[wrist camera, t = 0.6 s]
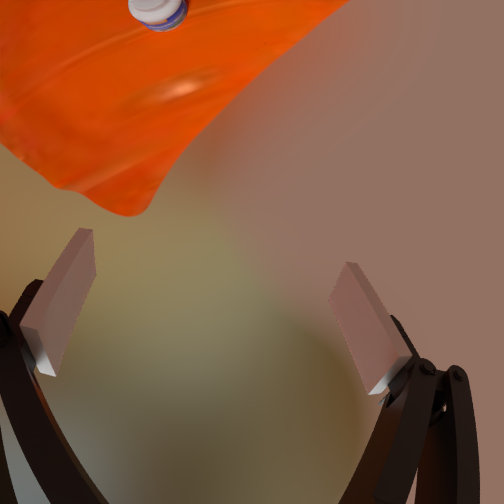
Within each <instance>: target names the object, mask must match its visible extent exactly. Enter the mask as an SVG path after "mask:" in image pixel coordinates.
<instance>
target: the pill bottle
mask: <svg viewBox="0 0 504 504" xmlns="http://www.w3.org/2000/svg"><path fill="white" fill-rule="evenodd" d="M128 6H129V10H130V12H131V14H132V15H133V16H134V17H135V18H136V19H137V20H139V21H140V22H141V23H142V24H144V25H145V26H146V27H147V28H149V29H151V30H153V31H156V32H166V31H170V30H173V29H175V28H176V27H178V26H179V25H180V24H181V23H182V22H183V21H184V19H185V17H186V14H187V5H186V2H185V0H129V1H128Z"/></svg>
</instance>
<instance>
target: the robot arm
mask: <svg viewBox="0 0 504 504" xmlns="http://www.w3.org/2000/svg"><path fill="white" fill-rule="evenodd" d="M95 276H96V267H95V257H94V242H93V230H91V229H84V228H79V229H78V230H77V232H76V233H75V235H74V236H73V237H72V239H71V240H70V242H69V243H68V245H67V246H66V248H65V249H64V250H63V252H62V253H61V255H60V257H59V258H58V260H57V261H56V263H55V264H54V266H53V267H52V269H51V271H50V272H49V274H48V275H47V277H46V279H45V280H44V281H43V280H37V279H35V280H34V281H32V282H31V283H30V284H29V285H28V286H27V287H26V288H25V290H24V291H23V293H22V296H20V298H19V300H18V303H16V305H15V306H14V308H13V310H12V312H11V313H10V315H9V317H8V316H7V314H6V313H5V312H3V311H1V310H0V395H1V398H2V401H3V404H4V407H5V410H6V412H7V415H8V418H9V420H10V423H11V426H12V428H13V431H14V433H15V435H16V438H17V440H18V442H19V444H20V446H21V449H22V451H23V453H24V455H25V458H26V460H27V462H28V463H29V466H30V467H31V469H32V471H33V473H34V475H35V477H36V479H37V481H38V483H39V484H40V486H41V488H42V490H43V491H44V493H45V495H46V497H47V498H48V500H49V502H50V503H51V504H109V503H108V502H107V500H106V499H105V498H104V496H103V495H102V494H101V492H100V491H99V490H98V488H97V487H96V485H95V484H94V483H93V481H92V480H91V478H90V477H89V475H88V474H87V473H86V471H85V469H84V468H83V466H82V465H81V463H80V462H79V460H78V458H77V457H76V455H75V453H74V452H73V450H72V448H71V447H70V445H69V443H68V442H67V440H66V438H65V436H64V435H63V433H62V431H61V429H60V427H59V425H58V424H57V422H56V420H55V418H54V416H53V414H52V412H51V410H50V408H49V406H48V403H47V401H46V399H45V397H44V395H43V393H42V391H41V388H40V386H39V384H38V381H37V379H36V377H35V374H34V372H33V371H34V368H35V366H36V365H37V367H38V369H39V371H40V372H41V373H44V374H48V375H52V376H57V373H58V370H59V367H60V364H61V361H62V358H63V355H64V353H65V350H66V347H67V344H68V342H69V339H70V336H71V334H72V331H73V328H74V326H75V323H76V321H77V318H78V315H79V313H80V311H81V308H82V306H83V304H84V301H85V299H86V297H87V294H88V292H89V290H90V288H91V285H92V283H93V281H94V279H95ZM328 301H329V303H330V305H331V307H332V310H333V312H334V314H335V316H336V319H337V321H338V324H339V326H340V328H341V331H342V333H343V335H344V338H345V340H346V342H347V345H348V347H349V350H350V352H351V354H352V357H353V359H354V362H355V364H356V367H357V369H358V371H359V374H360V376H361V379H362V381H363V384H364V386H365V389H366V391H367V394H368V395H370V394H377V393H381V392H382V391H383V390H384V389H385V388H386V387H387V386H388V387H389V389H390V392H389V393H388V394H387V395H386V396H385V397H384V398H383V399H382V400H381V401H380V403H379V405H381V404H382V403H383V402H384V404H383V407H382V409H381V412H380V415H379V417H378V420H377V422H376V425H375V427H374V430H373V432H372V435H371V437H370V440H369V442H368V444H367V446H366V449H365V451H364V453H363V455H362V458H361V460H360V462H359V464H358V466H357V468H356V471H355V473H354V475H353V477H352V479H351V481H350V483H349V485H348V487H347V489H346V490H345V492H344V494H343V496H342V498H341V500H340V501H339V503H338V504H406V501H407V498H408V495H409V493H410V490H411V486H412V484H413V480H414V478H415V474H416V471H417V468H418V472H417V486H416V495H415V503H414V504H480V472H479V455H478V442H477V432H476V423H475V416H474V409H473V403H472V397H471V391H470V386H469V380H468V377H467V374H466V372H465V371H464V370H463V369H462V368H461V367H459V366H456V365H452V366H450V368H449V369H448V370H447V371H440V370H437V369H436V367H435V366H434V365H433V363H432V362H430V361H429V360H427V359H424V358H420V356H419V355H418V353H417V351H416V349H415V348H414V346H413V344H412V343H411V341H410V339H409V338H408V336H407V334H406V332H405V331H404V329H403V327H402V325H401V324H400V322H399V321H398V320H397V319H396V318H395V317H394V316H393V315H389V313H388V312H387V310H386V308H385V307H384V305H383V303H382V302H381V300H380V299H379V297H378V295H377V294H376V292H375V290H374V289H373V287H372V285H371V284H370V282H369V281H368V279H367V278H366V276H365V275H364V273H363V271H362V270H361V268H360V267H359V265H358V264H357V263H351V262H345V265H344V267H343V269H342V271H341V274H340V276H339V278H338V280H337V283H336V285H335V287H334V289H333V291H332V294H331V295H330V298H329V300H328ZM445 405H446V411H445V412H444V409H443V407H444V406H445ZM0 504H18V502H17V499H16V496H15V492H14V489H13V485H12V481H11V478H10V474H9V470H8V465H7V461H6V456H5V451H4V446H3V440H2V434H1V427H0Z"/></svg>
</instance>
